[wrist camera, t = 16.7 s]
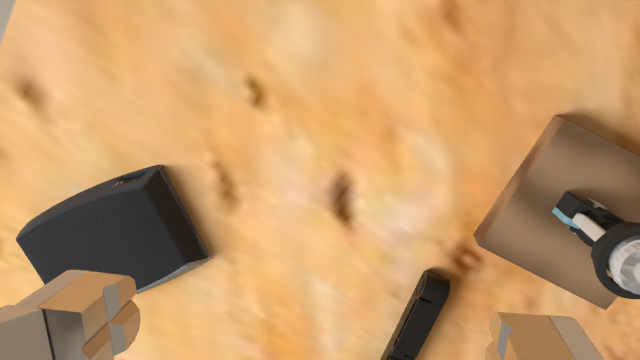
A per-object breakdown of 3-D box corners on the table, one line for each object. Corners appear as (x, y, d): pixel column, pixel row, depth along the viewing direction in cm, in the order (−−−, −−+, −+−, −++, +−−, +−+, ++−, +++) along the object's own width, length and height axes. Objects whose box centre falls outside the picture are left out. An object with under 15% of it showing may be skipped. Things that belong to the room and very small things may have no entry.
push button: (643, 207, 35) (738, 264, 25) (604, 258, 37) (679, 329, 27) (571, 174, 35) (639, 218, 26) (535, 225, 37) (586, 285, 27)
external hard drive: (216, 262, 47) (201, 281, 43) (84, 307, 51) (60, 328, 48) (161, 156, 44) (139, 166, 40) (27, 215, 49) (-4, 229, 45)
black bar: (424, 265, 43) (427, 280, 40) (448, 274, 42) (452, 290, 40) (362, 391, 48) (361, 412, 46) (383, 400, 48) (383, 422, 45)
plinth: (554, 115, 36) (566, 119, 34) (688, 182, 36) (709, 191, 34) (473, 234, 40) (478, 245, 38) (593, 295, 40) (605, 310, 38)
